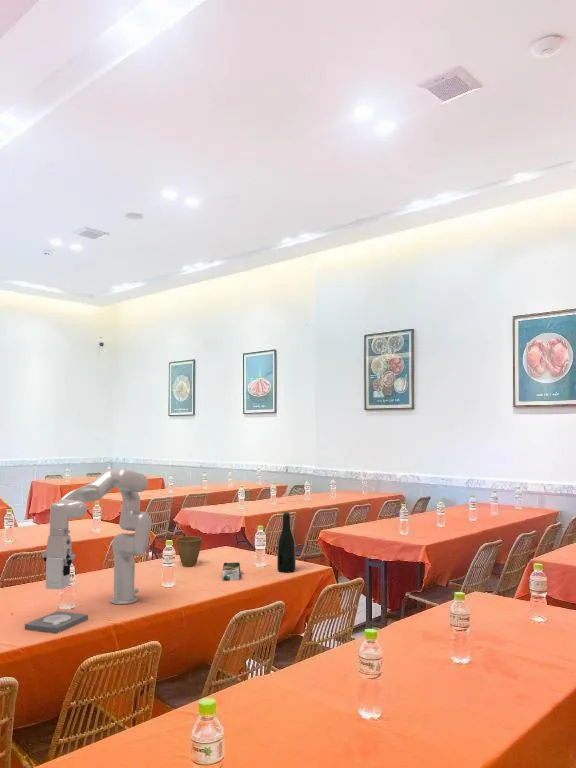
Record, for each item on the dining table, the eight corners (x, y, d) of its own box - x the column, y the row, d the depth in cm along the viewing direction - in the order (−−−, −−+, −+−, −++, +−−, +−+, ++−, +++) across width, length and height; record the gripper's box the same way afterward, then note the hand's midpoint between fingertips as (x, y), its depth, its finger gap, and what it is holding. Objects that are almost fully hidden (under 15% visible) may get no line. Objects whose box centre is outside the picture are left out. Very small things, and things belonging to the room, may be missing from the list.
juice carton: (240, 581, 349) (240, 569, 350) (221, 581, 349) (221, 569, 349) (240, 572, 369) (240, 561, 370) (222, 573, 369) (222, 562, 369)
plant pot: (176, 563, 392) (177, 536, 393) (201, 562, 394) (201, 536, 395) (175, 568, 378) (175, 540, 379) (201, 568, 379) (201, 540, 380)
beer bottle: (274, 569, 375) (274, 512, 377) (290, 568, 379) (290, 511, 382) (281, 573, 366) (281, 514, 368) (298, 571, 370) (298, 513, 372)
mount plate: (57, 615, 285) (57, 608, 286) (87, 619, 280) (88, 612, 280) (24, 629, 267) (24, 621, 267) (56, 633, 261) (56, 625, 261)
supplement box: (61, 590, 270) (61, 559, 271) (44, 589, 271) (45, 558, 272) (70, 585, 277) (71, 555, 278) (54, 584, 279) (55, 554, 279)
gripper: (81, 531, 276) (81, 573, 275) (48, 529, 282) (47, 570, 281) (70, 534, 269) (69, 577, 268) (36, 532, 275) (35, 574, 274)
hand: (58, 574), depth 275 cm, fingers closed on supplement box, 8 cm apart
